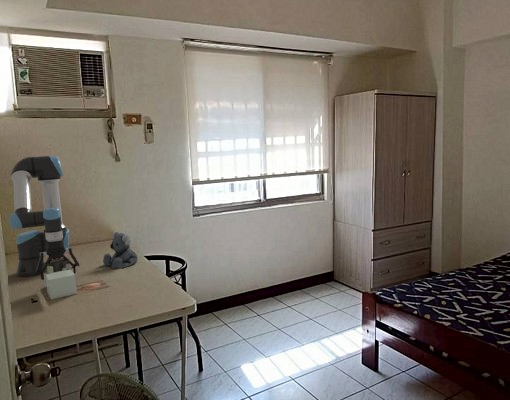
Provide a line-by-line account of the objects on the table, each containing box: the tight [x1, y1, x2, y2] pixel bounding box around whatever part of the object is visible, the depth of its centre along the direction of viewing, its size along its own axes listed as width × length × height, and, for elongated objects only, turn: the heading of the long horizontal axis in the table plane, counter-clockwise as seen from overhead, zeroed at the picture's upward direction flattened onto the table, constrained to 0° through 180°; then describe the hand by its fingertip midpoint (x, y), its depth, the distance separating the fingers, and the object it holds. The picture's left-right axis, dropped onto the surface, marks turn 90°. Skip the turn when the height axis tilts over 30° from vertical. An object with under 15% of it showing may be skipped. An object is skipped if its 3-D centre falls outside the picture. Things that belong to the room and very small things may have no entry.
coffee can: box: [46, 257, 71, 274], centre depth 199 cm, size 10×10×14 cm
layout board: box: [43, 280, 110, 302], centre depth 193 cm, size 13×27×2 cm, turn 124°
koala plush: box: [102, 230, 139, 270], centre depth 237 cm, size 17×18×20 cm
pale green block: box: [45, 268, 78, 300], centre depth 188 cm, size 11×11×9 cm
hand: (59, 283), depth 200 cm, fingers open, 12 cm apart
